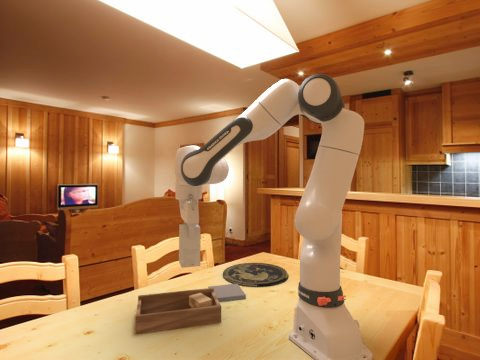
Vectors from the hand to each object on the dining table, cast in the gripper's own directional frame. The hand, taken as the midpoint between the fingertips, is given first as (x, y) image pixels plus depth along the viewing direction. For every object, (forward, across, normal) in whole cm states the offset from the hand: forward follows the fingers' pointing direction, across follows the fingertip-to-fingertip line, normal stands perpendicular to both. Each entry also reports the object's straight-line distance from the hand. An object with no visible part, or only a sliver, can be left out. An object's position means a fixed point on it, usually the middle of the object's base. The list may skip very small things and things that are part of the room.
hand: (189, 235), depth 98 cm
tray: (+25, -4, +4) cm, 26 cm away
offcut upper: (+23, -4, -3) cm, 23 cm away
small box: (+10, 0, 0) cm, 10 cm away
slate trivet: (+26, +9, -15) cm, 31 cm away
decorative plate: (+26, +27, -33) cm, 50 cm away
